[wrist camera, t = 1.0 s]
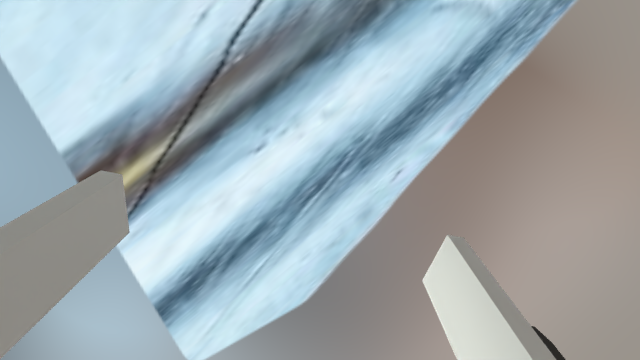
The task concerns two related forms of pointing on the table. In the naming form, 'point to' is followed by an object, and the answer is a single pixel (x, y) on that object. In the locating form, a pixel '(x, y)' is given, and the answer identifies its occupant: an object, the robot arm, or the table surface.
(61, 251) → the robot arm
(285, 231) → the table surface
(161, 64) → the table surface
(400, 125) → the table surface
